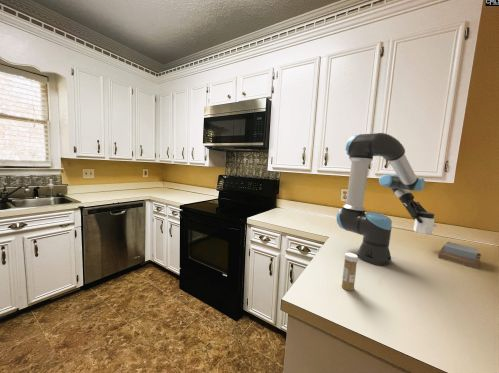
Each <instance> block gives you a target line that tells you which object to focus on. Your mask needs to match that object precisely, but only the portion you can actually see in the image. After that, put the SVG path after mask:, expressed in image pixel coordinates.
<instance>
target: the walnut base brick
mask: <svg viewBox="0 0 499 373" xmlns="http://www.w3.org/2000/svg"><path fill="white" fill-rule="evenodd" d="M444 246H445V244H443V246H442V248H441V249H439V251H438V256H437V258H438V259H441V260H445V261H448V262H451V263H455V264H459V265H462V266H466V267H470V268H473V269H477V270H478V269H479V266H480V264H481V263H480V262H481V258H482V254H481V253H480V252H477V256H476V259H475V260H471V259H468V258H464V257H460V256H456V255H453V254H449V253H445V252H443V251H444Z"/></svg>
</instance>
